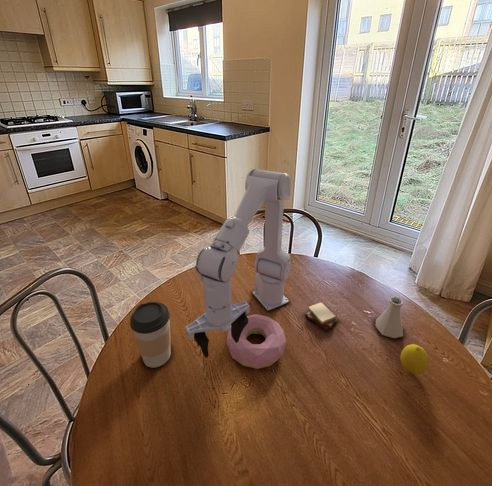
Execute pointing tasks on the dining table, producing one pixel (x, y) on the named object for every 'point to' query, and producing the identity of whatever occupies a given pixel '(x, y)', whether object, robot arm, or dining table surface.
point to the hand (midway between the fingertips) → (220, 346)
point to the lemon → (414, 359)
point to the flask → (391, 319)
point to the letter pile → (321, 316)
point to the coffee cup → (152, 333)
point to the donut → (262, 352)
